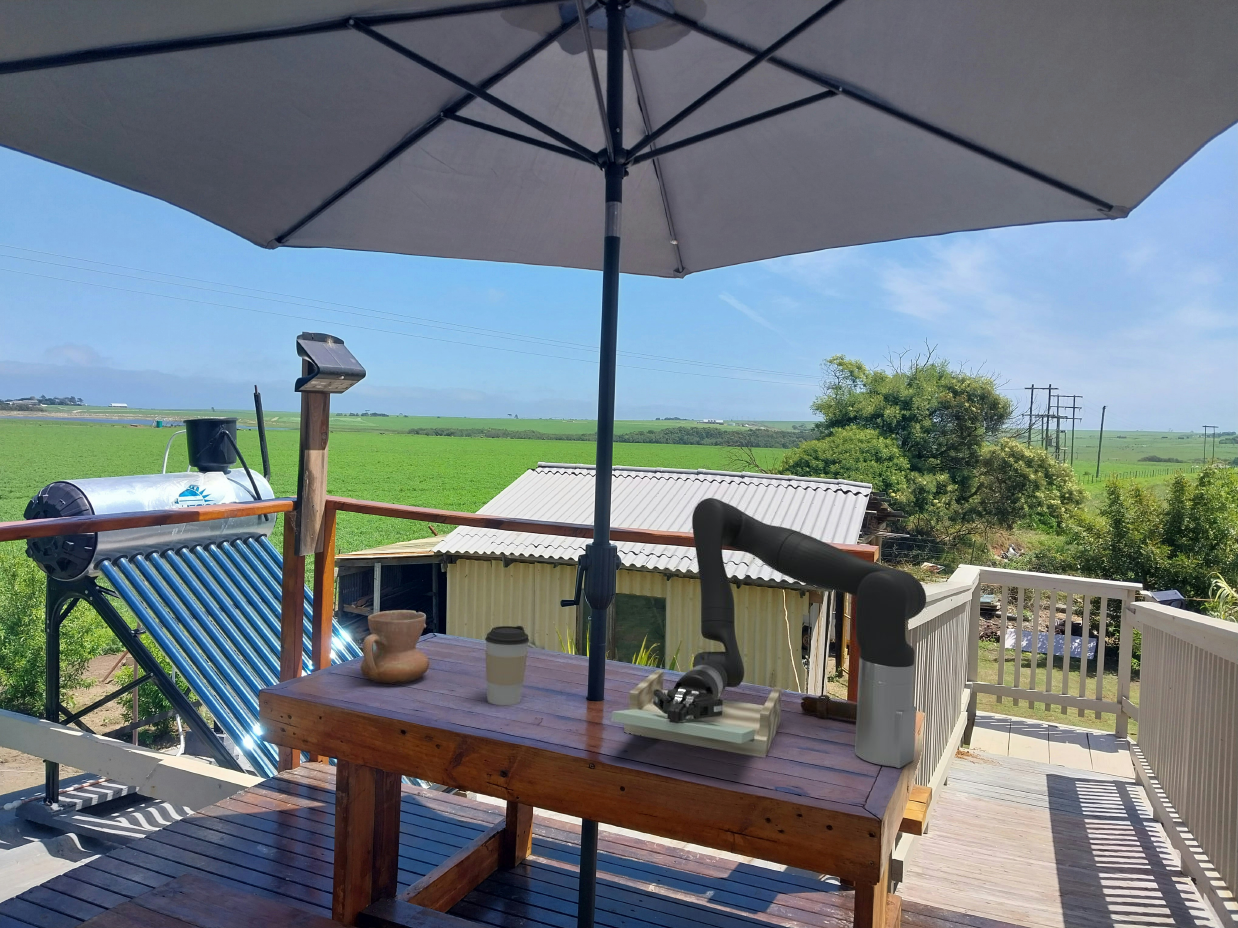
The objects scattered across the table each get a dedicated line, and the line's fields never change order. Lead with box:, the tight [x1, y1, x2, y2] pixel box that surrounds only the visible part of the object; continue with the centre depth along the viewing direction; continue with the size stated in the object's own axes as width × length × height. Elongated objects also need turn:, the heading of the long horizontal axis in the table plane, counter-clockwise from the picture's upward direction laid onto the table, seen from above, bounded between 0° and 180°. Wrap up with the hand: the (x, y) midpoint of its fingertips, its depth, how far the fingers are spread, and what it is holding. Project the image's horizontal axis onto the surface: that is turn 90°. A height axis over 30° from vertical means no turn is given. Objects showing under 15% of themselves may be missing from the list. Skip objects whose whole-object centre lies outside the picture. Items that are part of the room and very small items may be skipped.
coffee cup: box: [484, 625, 530, 706], centre depth 154 cm, size 9×9×15 cm
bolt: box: [800, 694, 857, 721], centre depth 153 cm, size 6×5×15 cm
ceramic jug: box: [360, 609, 430, 684], centre depth 164 cm, size 18×14×14 cm
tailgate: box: [610, 709, 755, 743], centre depth 128 cm, size 2×22×14 cm
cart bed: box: [623, 669, 783, 759], centre depth 143 cm, size 20×26×7 cm
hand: (674, 716), depth 121 cm, fingers closed
